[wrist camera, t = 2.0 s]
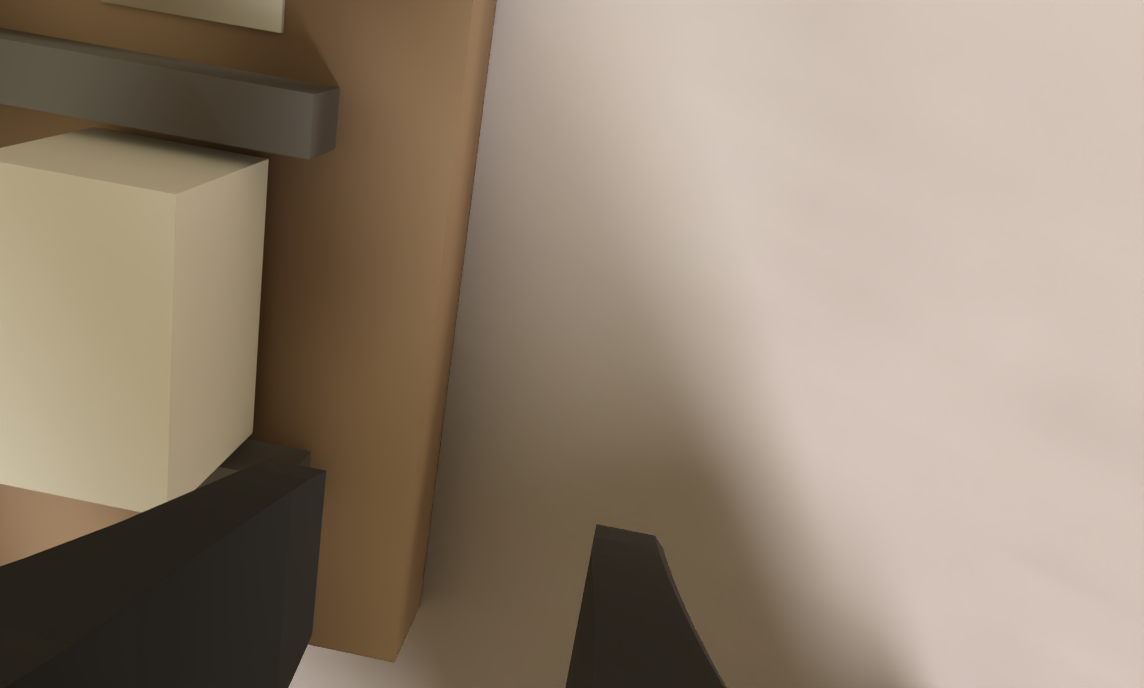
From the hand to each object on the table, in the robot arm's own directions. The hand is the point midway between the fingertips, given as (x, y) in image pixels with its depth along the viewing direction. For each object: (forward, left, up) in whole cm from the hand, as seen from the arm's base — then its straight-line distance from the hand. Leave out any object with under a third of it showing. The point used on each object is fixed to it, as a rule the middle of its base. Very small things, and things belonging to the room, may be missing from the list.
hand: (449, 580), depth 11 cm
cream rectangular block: (+6, 0, -7) cm, 10 cm away
